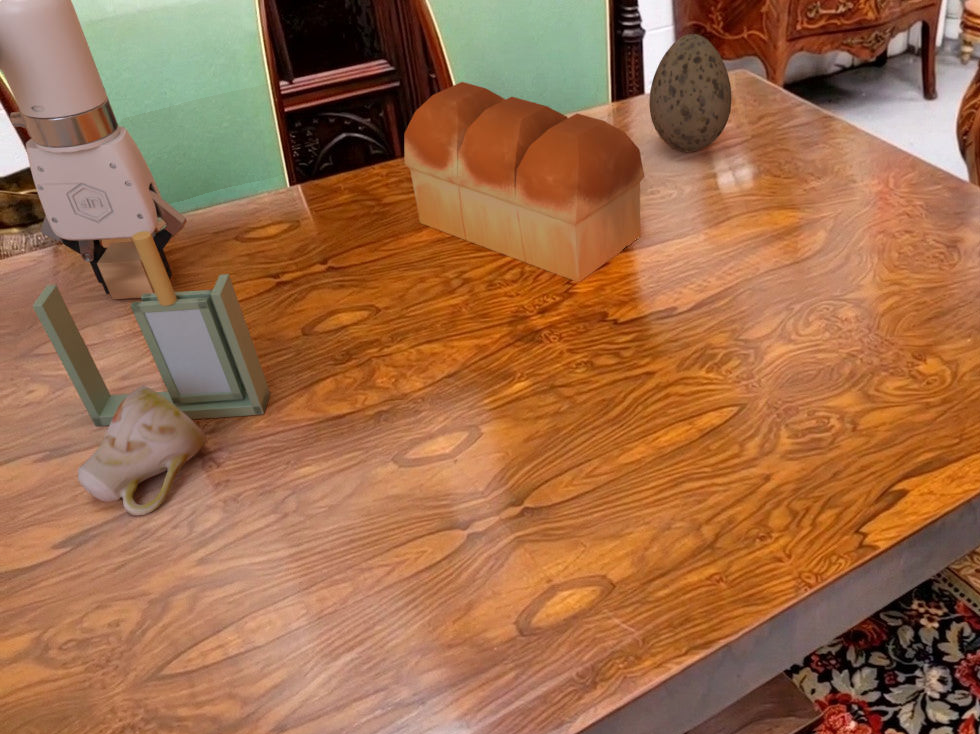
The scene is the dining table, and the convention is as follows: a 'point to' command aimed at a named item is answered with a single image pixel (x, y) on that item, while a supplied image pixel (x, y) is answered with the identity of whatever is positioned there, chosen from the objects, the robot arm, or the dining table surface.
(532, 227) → the bread
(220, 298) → the window frame
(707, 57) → the decorative egg
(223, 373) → the window pane
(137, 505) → the mug
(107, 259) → the block
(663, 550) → the dining table surface
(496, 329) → the dining table surface
